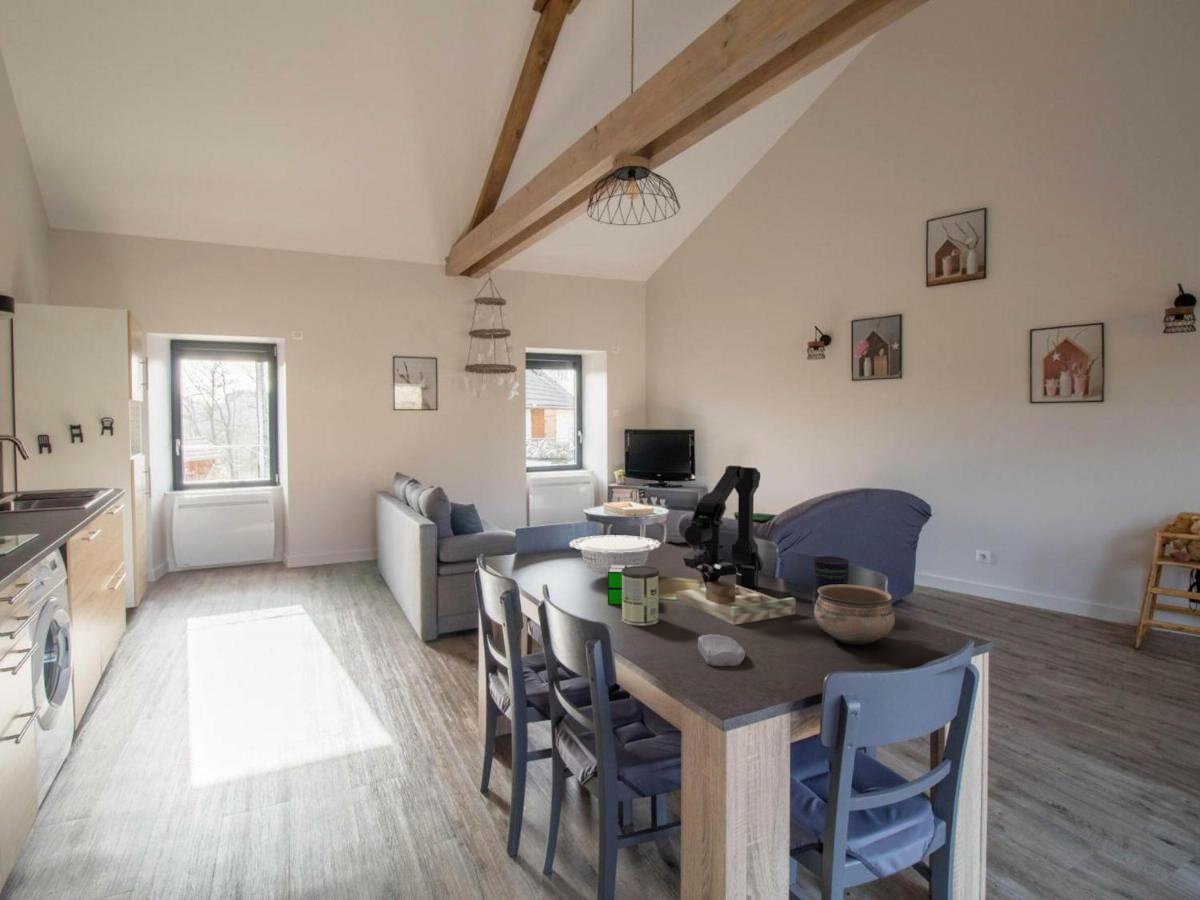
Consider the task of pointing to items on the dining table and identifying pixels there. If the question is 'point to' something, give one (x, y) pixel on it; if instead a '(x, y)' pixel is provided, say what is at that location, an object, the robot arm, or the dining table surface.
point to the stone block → (720, 650)
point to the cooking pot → (854, 613)
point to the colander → (614, 550)
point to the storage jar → (829, 573)
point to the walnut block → (720, 592)
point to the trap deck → (739, 605)
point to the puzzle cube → (615, 584)
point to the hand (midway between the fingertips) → (709, 592)
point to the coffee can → (640, 595)
